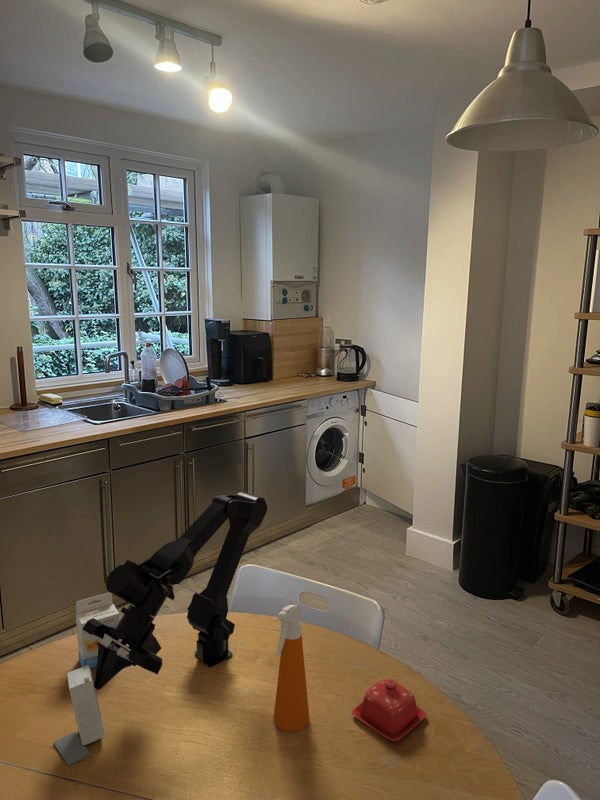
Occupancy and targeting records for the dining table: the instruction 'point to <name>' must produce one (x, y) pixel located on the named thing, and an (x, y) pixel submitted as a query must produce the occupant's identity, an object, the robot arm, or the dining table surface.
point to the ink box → (100, 612)
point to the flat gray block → (71, 748)
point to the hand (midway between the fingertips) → (96, 688)
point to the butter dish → (389, 709)
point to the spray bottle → (291, 674)
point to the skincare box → (85, 705)
